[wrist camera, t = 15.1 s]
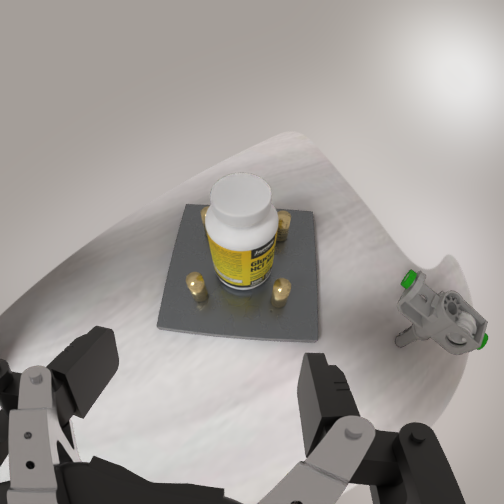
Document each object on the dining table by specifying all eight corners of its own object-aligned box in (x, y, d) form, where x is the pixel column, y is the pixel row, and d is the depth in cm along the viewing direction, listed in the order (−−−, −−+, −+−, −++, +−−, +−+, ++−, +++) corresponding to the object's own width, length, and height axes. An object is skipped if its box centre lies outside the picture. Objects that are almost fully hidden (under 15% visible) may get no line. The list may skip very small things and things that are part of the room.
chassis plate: (159, 329, 27) (144, 315, 23) (187, 209, 35) (181, 184, 31) (315, 342, 26) (327, 330, 22) (311, 216, 35) (317, 192, 31)
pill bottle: (257, 301, 27) (261, 237, 18) (204, 277, 29) (183, 208, 19) (281, 253, 30) (293, 179, 21) (231, 234, 32) (224, 158, 22)
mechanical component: (373, 304, 28) (417, 259, 20) (435, 353, 25) (493, 325, 16) (360, 324, 27) (405, 284, 18) (425, 374, 23) (485, 352, 15)
